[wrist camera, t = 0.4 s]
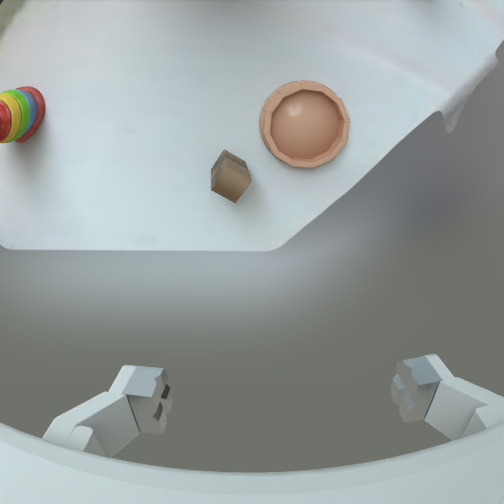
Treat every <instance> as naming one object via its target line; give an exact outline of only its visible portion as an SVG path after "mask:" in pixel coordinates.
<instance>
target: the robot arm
mask: <svg viewBox="0 0 504 504" xmlns="http://www.w3.org/2000/svg"><path fill="white" fill-rule="evenodd" d="M396 371H397V373H398V374H397V375H396V376H395V377H394V378H393V380H392V384H391V394H392V398H393V401H394V402H395V403H396V404H398V405H399V406H400V408H399V413H400V415H401V417H402V419H403V421H404V423H407V422H412V421H417V420H422V419H425V421H426V422H428V423H429V424H431V425H432V426H433V427H435V428H436V429H438V430H439V431H440V432H442V433H443V434H444V435H446V436H447V437H449V438H450V439H451V440H453V441H451V442H449V443H445V444H442V445H439V446H436V447H432V448H428V449H425V450H421V451H418V452H414V453H410V454H406V455H402V456H397V457H393V458H388V459H383V460H378V461H373V462H368V463H362V464H355V465H349V466H342V467H334V468H326V469H316V470H305V471H290V472H268V473H233V472H211V471H196V470H185V469H175V468H167V467H160V466H152V465H145V464H140V463H134V462H128V461H123V460H118V459H113V458H111V457H112V456H113V455H115V454H116V453H117V452H118V451H119V450H121V449H122V448H123V447H124V446H125V445H127V444H128V443H129V442H130V441H131V440H132V439H134V438H135V437H136V436H137V435H138V434H139V433H140V432H145V433H154V434H163V432H164V429H165V426H166V423H167V419H166V414H168V413H169V412H170V409H171V404H172V393H171V388H170V387H169V386H168V385H167V384H166V383H167V380H168V375H167V371H166V370H165V369H163V368H153V367H142V366H133V365H124V366H123V367H122V369H121V371H120V373H119V374H118V376H117V378H116V379H115V381H114V383H113V385H112V386H111V388H110V390H109V392H103V393H101V394H99V395H98V396H96V397H94V398H92V399H90V400H88V401H86V402H85V403H83V404H81V405H79V406H77V407H75V408H73V409H71V410H69V411H67V412H66V413H64V414H62V415H60V416H58V417H56V418H55V419H54V421H53V422H52V424H51V425H50V427H49V428H48V430H47V431H46V433H45V435H44V436H43V438H42V439H41V438H38V437H35V436H32V435H30V434H27V433H24V432H22V431H19V430H16V429H14V428H12V427H9V426H7V425H4V424H2V423H0V504H504V397H502V396H499V395H497V394H495V393H493V392H490V391H488V390H486V389H483V388H481V387H479V386H477V385H474V384H472V383H470V382H467V381H465V380H463V379H461V378H458V377H457V378H454V376H453V375H452V374H451V372H450V371H449V370H448V369H447V367H446V366H445V365H444V364H443V362H442V361H441V360H440V358H439V357H438V356H437V355H435V354H431V355H426V356H422V357H417V358H410V359H404V360H399V361H398V363H397V366H396Z"/></svg>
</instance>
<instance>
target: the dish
mask: <svg viewBox="0 0 504 504" xmlns="http://www.w3.org/2000/svg"><path fill="white" fill-rule="evenodd" d="M348 120H349V117H348V114H347V112H346V109H345V107H344V104H343V102H342V101H341V99H340V98H339V97H337V95H336V94H335V93H334V92H333V91H331V90H330V89H329V88H327V87H326V86H324V85H322V84H319V83H316V82H311V81H295V82H290V83H288V84H285V85H283V86H281V87H280V88H278V89H277V90H275V91H274V92H273V93H272V94H271V95H270V96H269V98H268V99H267V100H266V102H265V104H264V106H263V108H262V111H261V114H260V133H261V136H262V139H263V141H264V143H265V145H266V147H267V148H268V149H269V151H270V152H271V153H272V154H273V155H274V156H275V157H277V158H278V159H279V160H281V161H283V162H285V163H287V164H289V165H291V166H293V167H309V168H313V167H314V168H315V167H317V166H319V165H321V164H323V163H325V162H328V161H330V160H332V159H333V158H334V157H335V156H336V155H337V154H338V152H339V151H340V150H341V148H342V147H343V146H344V144H345V143H346V142H345V141H347V136H348V129H349V122H350V121H348ZM332 157H333V158H332Z"/></svg>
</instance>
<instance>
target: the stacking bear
mask: <svg viewBox="0 0 504 504" xmlns="http://www.w3.org/2000/svg"><path fill="white" fill-rule="evenodd" d="M44 111H45V103H44V99H43V96H42V95H41V93H40V92H39V91H38V90H37V89H35V88H33V87H20V88H17V89H13V90H8V91H5V92H2V93H0V143H8V142H12V141H16V142H19V143H21V142H24V141H25V140H27V139H28V138H30V137H31V136H32V135H33V134H34V132H35V131H36V130H37V128H38V127H39V125H40V123H41V121H42V119H43V116H44Z"/></svg>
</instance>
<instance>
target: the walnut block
mask: <svg viewBox="0 0 504 504" xmlns="http://www.w3.org/2000/svg"><path fill="white" fill-rule="evenodd" d="M250 182H251V179H250V175H249V172H248V169H247V166H246V163H245V161H243V160H241V159H240V158H238V157H236V156H235V155H233V154H231V153H229V152H228V151H226V150H224V151H223V152H222V154H221V155H220V157H219V158H218V160H217V161H216V163H215V165H214V166H213V168H212V169H211V190H212V191H214V192H216V193H218V194H219V195H221V196H223V197H225V198H227V199H229V200H231V201H232V202H234V203H236V202H237V200H238V199H239V198H240V196H241V195H242V193H243V192H244V190H245V189H246V187H247V186H248V185H249V183H250Z"/></svg>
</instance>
